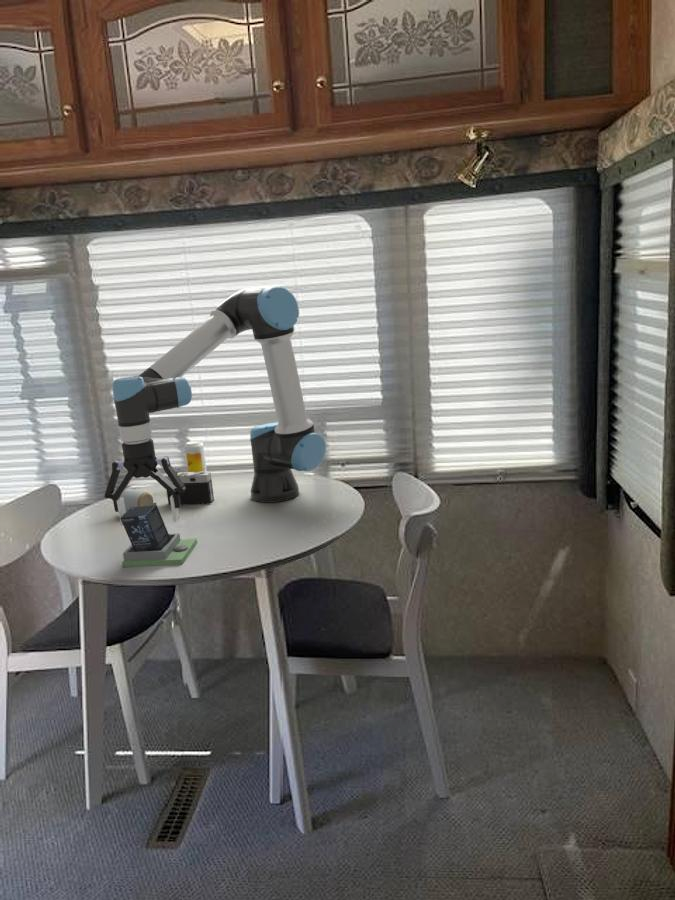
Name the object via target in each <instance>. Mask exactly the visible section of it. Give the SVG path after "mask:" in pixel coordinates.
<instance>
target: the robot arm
mask: <svg viewBox="0 0 675 900" xmlns="http://www.w3.org/2000/svg"><path fill="white" fill-rule="evenodd" d="M299 317H300V307H299V303H298V300H297V299H296V297H295V295H294V294H293V293H292V292H291V291H290V290H288V289H287V288H285V287H283V286H278V285H277V286H276V285H275V286H274V285H267V286H266V285H265V286H258V287H257V286H256V287H246V288H243V289H240V290H238V291H236V292H234V294H232V295H230V296H228V297H227V298H226V299H225V300H224V301H222V302H221V303H220V304H219V305H218V306H216V307H215V308H213V309H212V310H211V311H210V315H209V317H208V318H207V319H206V320H204V321H203V322H202V323H201V324H200V325H198V327H196V328H195V329H193V331H191V332H190V333H189V334H188V335H187V336H185V337H184V338H183V339H181V341H179V342H178V343H177V344H176V345H174V347H173V346H172V348H171V349H170V350H168V351H167V352H166V353H165V354H164V355H162V356H161V357H160V358H159V359H158V360H157V361H155V362H154V363H153V364H151V365H150V366H149V367H148V368H146V369H145V370H143V372H141V373H140V374H139V375H132V376H126V377H120V378H117V379H115V380H113V382H112V385H111V386H112V399H113V402H114V407H115V408H114V409H115V412H116V418H117V424H118V425H117V426H118V431H119V437H120V441H121V442H122V444H121V450H122V454H123V459H124V460H119V459H116V460H114V461H113V462H112V463H111V474H110V477H109V480H108V484H107V486H106V490H105V492H104V498H105V499H110V500H112V502H113V507H114V512H115V513H118V516H119V522H120V526H123V523H122V521H121V519H120V518H121V517H122V516H123V515H124V514H125V513H126V509H125V504H124V498H123V497H120V496H121V494H122V492H123V491H124V490H125V489H127V486H128V484H130V482H131V481H132V479H133V478H135V479H140V478H150V477H151V479H153V480H155V481H156V482H157V483H159V485H161V486H162V487H163V488H164V489H165V491H166V492H167V491H168V492H169V493H170V494H172V496H171V497H170V502H171V505H170V508H171V514H172V520H173V523H177V521H179V520H180V514H179V513H180V511H179V509H180V508H181V506H182V505H181V501H180V494H182V493H184V491H185V490H186V487H185V485H184V484H183V482H182V481H181V479H180V478H179V476H178V475H177V473H178V472H177V471H176V470H175V469H174V467H173V466H172V464H171V462H170V461H171V460H170V458H169V457H168V456H164V457H161V458H157V456H156V451H155V444H154V439H152V437H153V432H152V426H151V420H150V414H152V413H153V414H154V413H157V412H162V411H168V410H170V409H171V410H172V409H179V408H180V407H184V406H187V405H189V404H190V403H191V401H192V398H193V397H192V396H193V393H192V391H193V390H192V387H191V384H190V383H189V380H188V379H186V378H185V377H183V376H185V375H186V374H187V373H188V372H189V371H191V370H192V369H193V368H194V367H195V366H197V365H198V364H199V363H200V362H201V361H202V360H204V359H205V358H206V357H207V356H209V355H210V354H211V353H212V352H213V351H214V350H216V349H217V348H218V347H220V345H222V343H224V342H225V341H226V340H227V339H231V340H232V339H234V338H235V337H236V336H237V335H239V334H241V333H243V332H245V331H249V330H252V333H253V340H254V341H256V342H257V343H259V344H260V346H261V349H262V354H263V359H264V363H265V368H266V372H267V376H268V382H269V388H270V391H271V395H272V396H271V397H272V400H273V405H274V409H275V414H276V419H277V421H275V422H268V423H264V424H259V425H256V426H253V427H252V428H251V429H250V430H249V431H250V434H249V435H250V437H249V438H250V439H249V441H250V445H251V446H250V447H251V455H252V456H251V457H252V465H253V472H254V473H253V479H252V482H251V487H250V488H251V489H250V499H252V500H253V501H255V502H259V503H275V502H276V503H277V502H284V501H286V500H291V499H293V498H296V497H297V496H298V495H299V493H300V492H299V491H300V490H299V484H298V482H297V480H296V478H295V475H294V472H293V470H294V471H297V472H311V471H314V470H315V469H317V468H318V467H319V466H320V465H321V463H322V462H323V459H324V458H325V455H326V448H327V447H326V441H325V439H324V438H323V436H321V435H320V434H319V433H318V432H316V430H315V426H314V422H313V420H311V419H310V418H308V417H307V411H306V407H305V402H304V397H303V396H304V395H303V392H302V391H303V390H302V386H301V382H300V377H299V372H298V367H297V362H296V358H295V353H294V348H293V343H292V337H293V335H294V334H295V332H296V329H295V325H296V324H297V322H298V318H299ZM158 465H159V466H160V467H161V468H162V469H163V471H164V472H165V474H166V475H168V477H169V478H170V480H171V481H172V482H173V484H174V485H175V486H174V485H173V484H172V483H171V482H170V481H169V480H168V479H167V478H166V477H165V476H166V475H163V473H162V472H161V471H160V469H159V468H157V466H158ZM123 467H124V469H126V471H127V473H126V474H125V476H124V478H123V480H121V483H119V486H118V487H117V489H116V490H115V488H116V485H117V481H118V479H119V475H120V473H121V470H122V469H123ZM176 472H177V473H176Z"/></svg>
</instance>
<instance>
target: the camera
mask: <svg viewBox="0 0 675 900" xmlns="http://www.w3.org/2000/svg"><path fill="white" fill-rule="evenodd" d="M175 472H176V473H177V475H178V476H179V478H180V479H181V481H182V482H183V484H184V485H185V487H186V490H185V491H184V493H182V494H180V501H181V506H183V505H185V506H186V505H187V506H189V505H211V504H212V503H213V502H214V501H215V498H214V489H213V482H212V475H211V473H212V472H211V471H207V472H203V471H201V472H188V471H187V472H177V471H175ZM164 476H165V477H166V478H167V479H168V480H169V481H170V482H171V483H172V484H173V482H172V481H171V480H170V478H169V477H168V475H167V474H166V475H164ZM173 485H174V484H173ZM174 486H175V485H174ZM171 496H172V494H170V493H169V492H168V491H167V490H166V497H167V503H168V506H171V502H170V497H171Z"/></svg>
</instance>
